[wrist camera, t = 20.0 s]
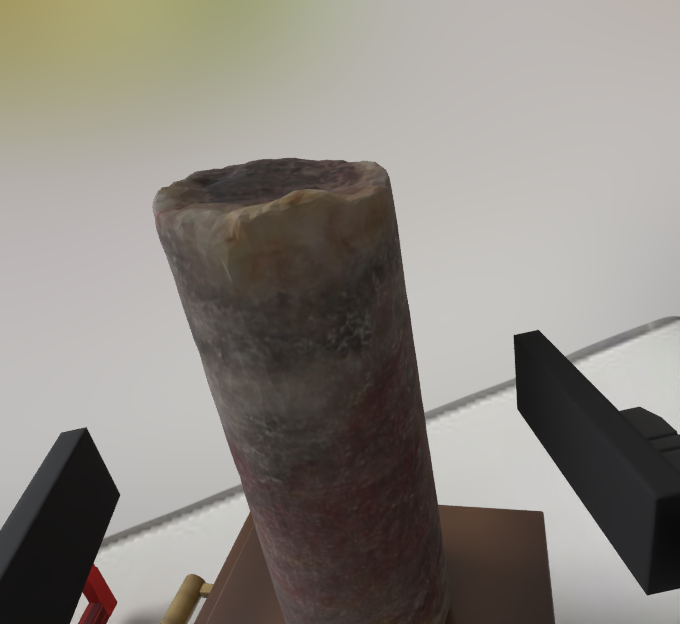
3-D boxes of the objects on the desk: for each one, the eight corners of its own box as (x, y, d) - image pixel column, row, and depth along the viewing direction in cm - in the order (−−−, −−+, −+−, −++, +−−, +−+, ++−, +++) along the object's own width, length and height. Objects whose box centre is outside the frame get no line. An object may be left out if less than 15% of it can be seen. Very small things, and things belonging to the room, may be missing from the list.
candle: (362, 517, 28) (276, 144, 20) (486, 585, 24) (441, 132, 15) (259, 631, 24) (86, 206, 15) (386, 745, 19) (239, 215, 10)
